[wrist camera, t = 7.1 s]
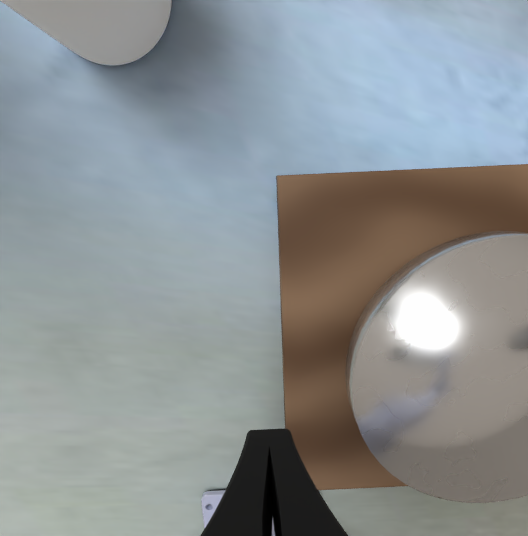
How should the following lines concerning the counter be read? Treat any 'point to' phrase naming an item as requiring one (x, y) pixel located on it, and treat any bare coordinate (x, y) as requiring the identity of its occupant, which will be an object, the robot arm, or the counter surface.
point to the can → (99, 25)
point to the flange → (448, 370)
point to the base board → (363, 284)
